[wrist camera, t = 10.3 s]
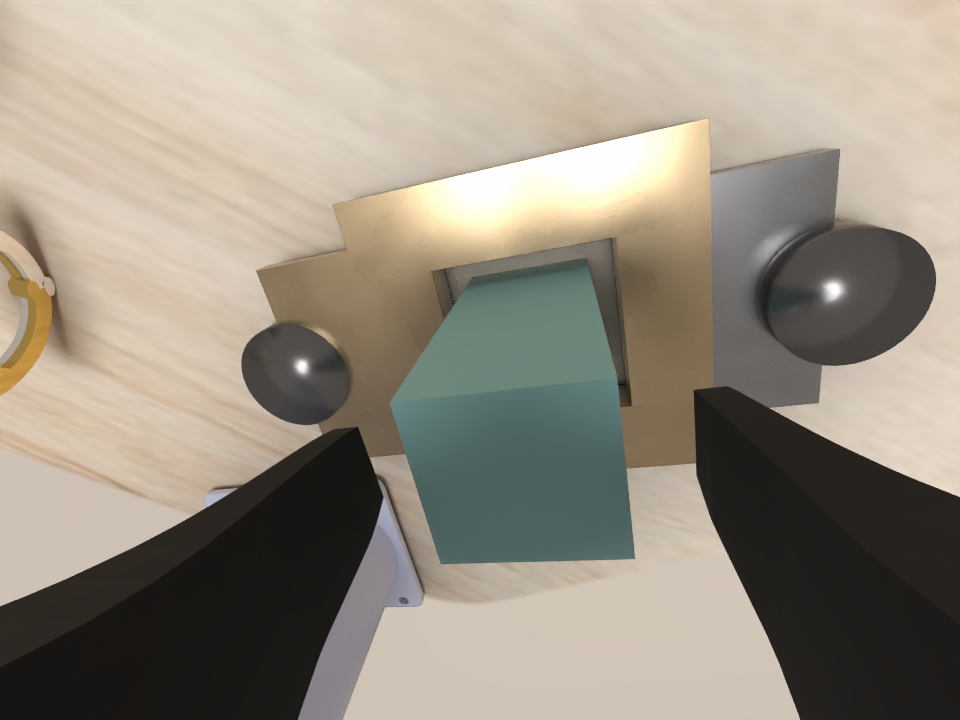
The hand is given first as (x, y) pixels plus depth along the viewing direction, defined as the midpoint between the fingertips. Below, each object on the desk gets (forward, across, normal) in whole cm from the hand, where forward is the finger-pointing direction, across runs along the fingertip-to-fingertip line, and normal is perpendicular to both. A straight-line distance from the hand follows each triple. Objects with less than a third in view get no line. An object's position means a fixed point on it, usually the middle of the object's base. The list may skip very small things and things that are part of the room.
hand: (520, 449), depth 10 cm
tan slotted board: (+8, +3, 0) cm, 8 cm away
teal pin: (+8, 0, 0) cm, 8 cm away
